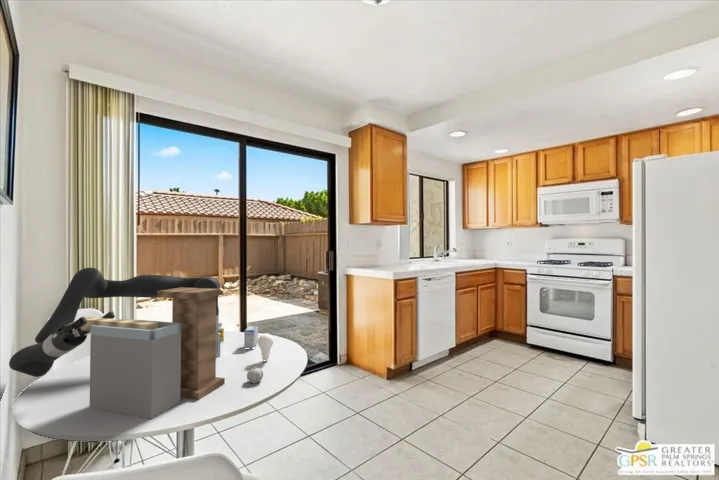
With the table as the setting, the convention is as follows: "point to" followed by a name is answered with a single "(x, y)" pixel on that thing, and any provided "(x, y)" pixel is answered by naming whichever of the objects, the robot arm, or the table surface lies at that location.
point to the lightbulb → (265, 345)
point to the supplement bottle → (221, 332)
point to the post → (196, 339)
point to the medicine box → (251, 337)
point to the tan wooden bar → (119, 323)
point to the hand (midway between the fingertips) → (99, 316)
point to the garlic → (254, 375)
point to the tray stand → (135, 369)
